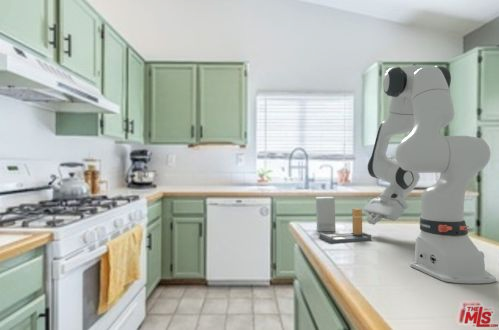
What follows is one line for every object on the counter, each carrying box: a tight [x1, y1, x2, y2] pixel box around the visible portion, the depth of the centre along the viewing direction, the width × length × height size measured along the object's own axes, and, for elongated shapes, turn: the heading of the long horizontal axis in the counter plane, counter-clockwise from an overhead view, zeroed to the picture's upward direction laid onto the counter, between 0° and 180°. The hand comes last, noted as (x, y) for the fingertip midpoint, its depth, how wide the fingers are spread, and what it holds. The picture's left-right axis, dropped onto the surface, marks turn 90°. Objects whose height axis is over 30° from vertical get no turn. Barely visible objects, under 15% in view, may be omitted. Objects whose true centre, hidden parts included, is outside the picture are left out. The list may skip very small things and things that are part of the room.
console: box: [319, 231, 372, 244], centre depth 144 cm, size 18×10×2 cm, turn 104°
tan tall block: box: [350, 208, 364, 236], centre depth 145 cm, size 4×4×11 cm
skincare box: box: [315, 196, 337, 233], centre depth 163 cm, size 8×7×16 cm
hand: (370, 223), depth 147 cm, fingers closed
